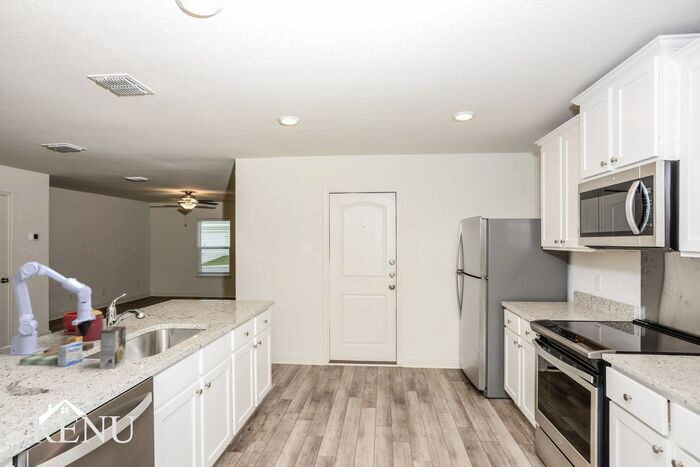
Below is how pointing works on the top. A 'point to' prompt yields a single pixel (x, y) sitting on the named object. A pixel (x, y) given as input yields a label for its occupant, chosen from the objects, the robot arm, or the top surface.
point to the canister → (93, 327)
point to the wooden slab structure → (49, 356)
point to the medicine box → (69, 354)
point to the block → (74, 339)
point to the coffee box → (112, 347)
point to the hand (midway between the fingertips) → (83, 336)
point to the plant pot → (70, 323)
